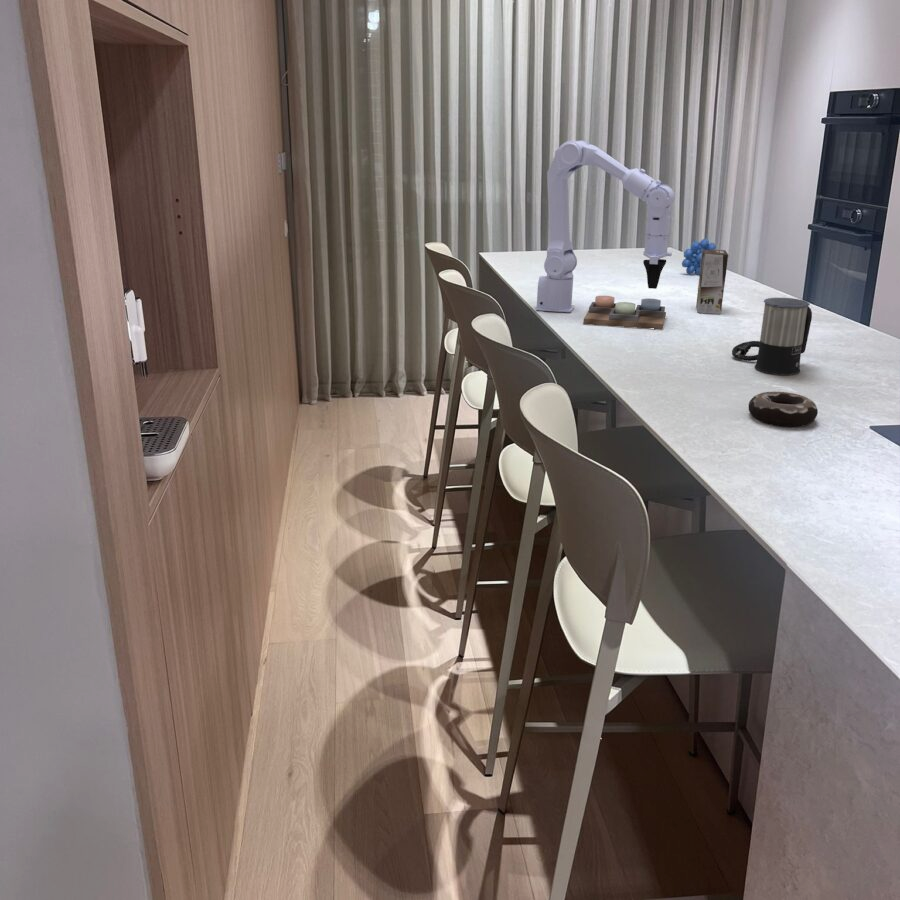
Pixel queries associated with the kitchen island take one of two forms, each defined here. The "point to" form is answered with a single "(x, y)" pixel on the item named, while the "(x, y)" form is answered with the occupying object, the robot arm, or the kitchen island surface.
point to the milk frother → (780, 337)
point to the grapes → (696, 255)
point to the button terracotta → (604, 301)
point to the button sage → (625, 308)
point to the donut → (783, 409)
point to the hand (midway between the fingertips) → (652, 288)
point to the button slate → (650, 304)
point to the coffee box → (711, 281)
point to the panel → (625, 317)
